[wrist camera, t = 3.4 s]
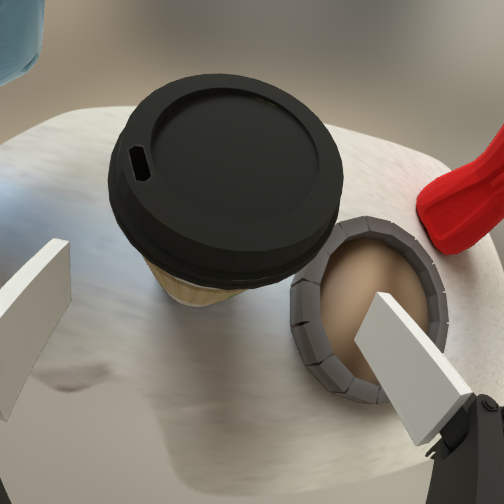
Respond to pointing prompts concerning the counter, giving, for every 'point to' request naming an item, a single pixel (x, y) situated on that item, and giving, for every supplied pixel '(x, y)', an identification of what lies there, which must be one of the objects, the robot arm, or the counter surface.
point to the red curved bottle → (465, 201)
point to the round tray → (361, 301)
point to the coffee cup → (224, 185)
